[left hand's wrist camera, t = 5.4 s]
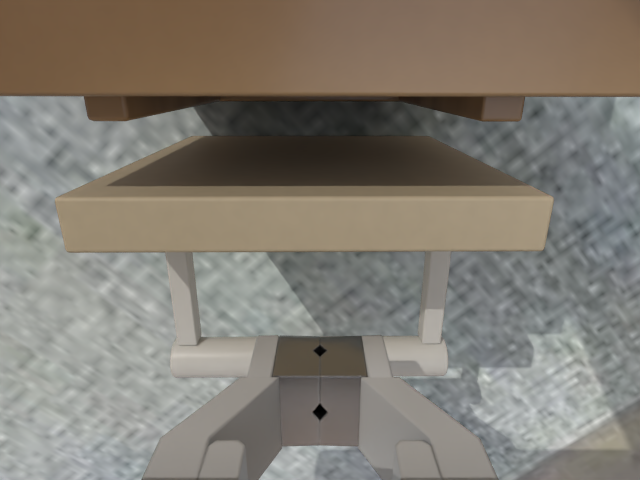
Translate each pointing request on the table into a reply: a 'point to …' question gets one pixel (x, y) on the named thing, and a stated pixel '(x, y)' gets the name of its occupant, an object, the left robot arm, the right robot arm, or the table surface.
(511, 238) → the drawer
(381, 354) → the left robot arm
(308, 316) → the table surface
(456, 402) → the table surface
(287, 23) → the cabinet
